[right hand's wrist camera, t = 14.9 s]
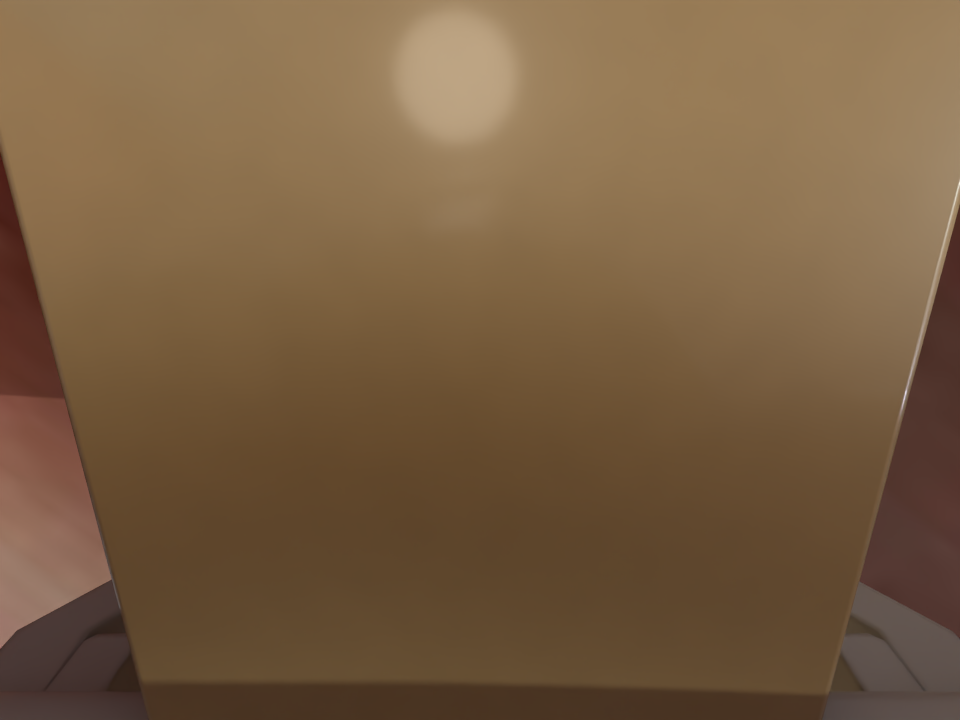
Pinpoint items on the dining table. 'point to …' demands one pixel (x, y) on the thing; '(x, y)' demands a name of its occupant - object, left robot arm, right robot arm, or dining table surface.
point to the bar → (484, 337)
